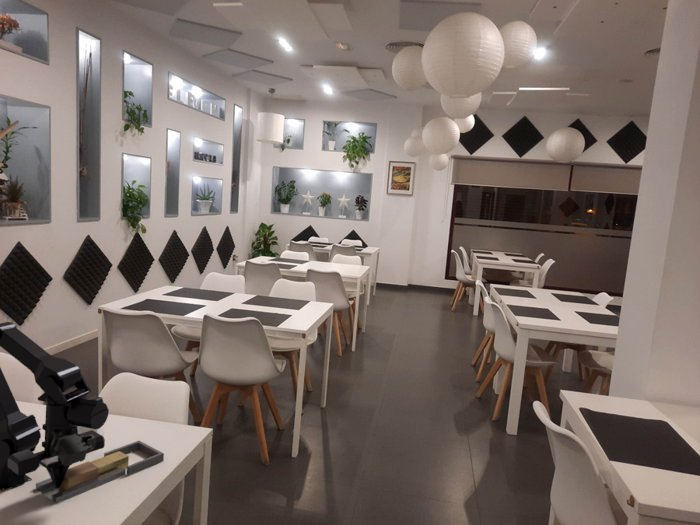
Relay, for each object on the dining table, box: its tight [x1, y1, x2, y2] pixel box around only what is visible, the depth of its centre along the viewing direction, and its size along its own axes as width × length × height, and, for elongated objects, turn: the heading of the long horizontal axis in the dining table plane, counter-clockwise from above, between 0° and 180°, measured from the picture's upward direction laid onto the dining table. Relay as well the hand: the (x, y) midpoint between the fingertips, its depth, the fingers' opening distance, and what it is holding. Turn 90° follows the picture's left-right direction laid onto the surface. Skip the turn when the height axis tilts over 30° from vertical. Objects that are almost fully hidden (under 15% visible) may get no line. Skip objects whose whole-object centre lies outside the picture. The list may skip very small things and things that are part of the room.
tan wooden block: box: [105, 451, 130, 471], centre depth 126 cm, size 4×4×3 cm
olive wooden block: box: [89, 456, 114, 477], centre depth 123 cm, size 4×4×3 cm
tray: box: [103, 440, 165, 476], centre depth 131 cm, size 11×10×3 cm
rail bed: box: [35, 468, 127, 504], centre depth 119 cm, size 9×16×2 cm, turn 147°
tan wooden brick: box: [60, 460, 98, 490], centre depth 119 cm, size 4×7×3 cm, turn 147°
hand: (57, 486), depth 114 cm, fingers closed
